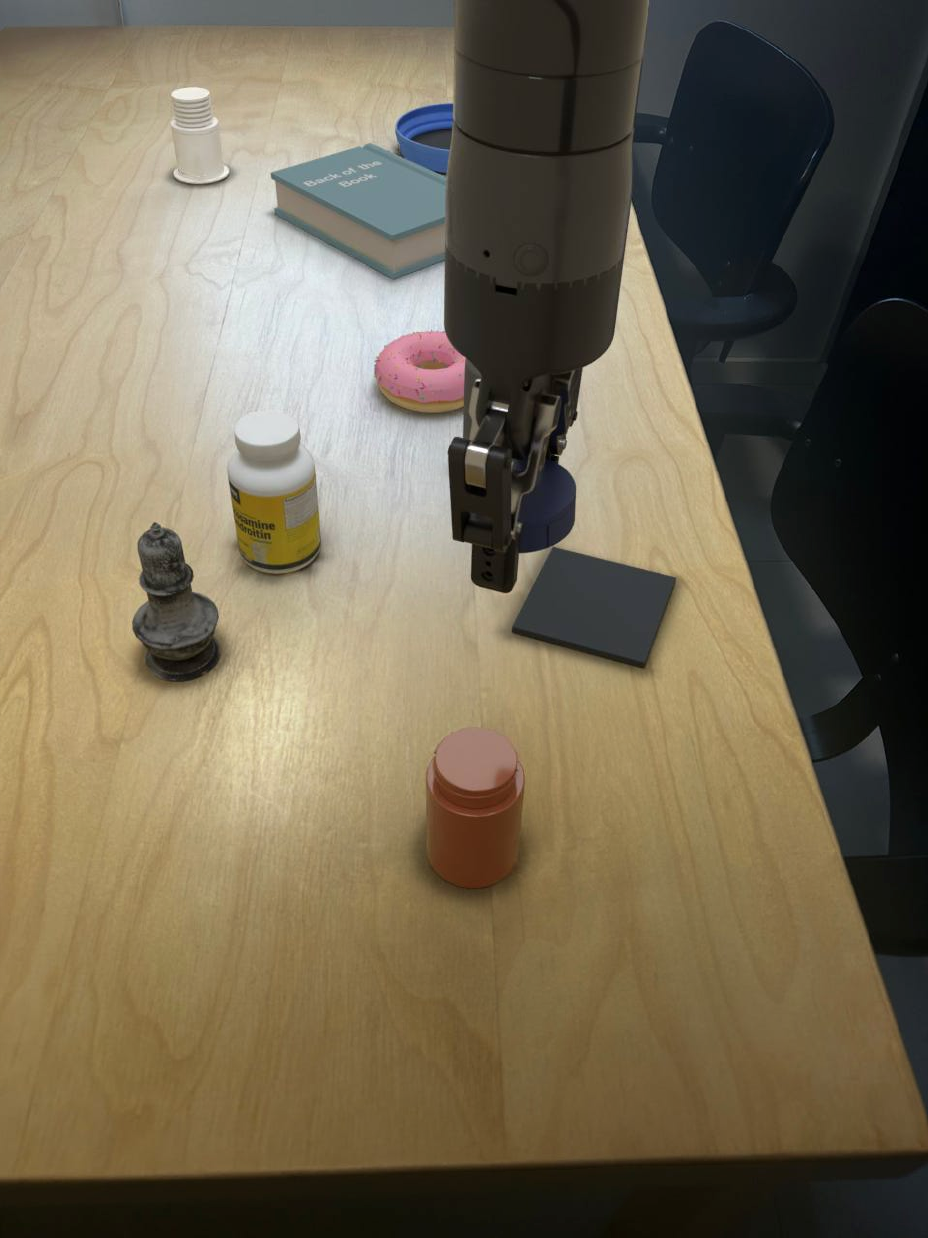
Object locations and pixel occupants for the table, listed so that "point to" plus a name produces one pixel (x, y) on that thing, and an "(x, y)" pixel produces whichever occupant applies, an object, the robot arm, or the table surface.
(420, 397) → the doughnut
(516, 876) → the table surface
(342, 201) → the book
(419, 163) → the bowl
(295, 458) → the pill bottle
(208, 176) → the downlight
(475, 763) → the jar
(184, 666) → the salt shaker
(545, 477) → the jar lid
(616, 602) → the coaster
